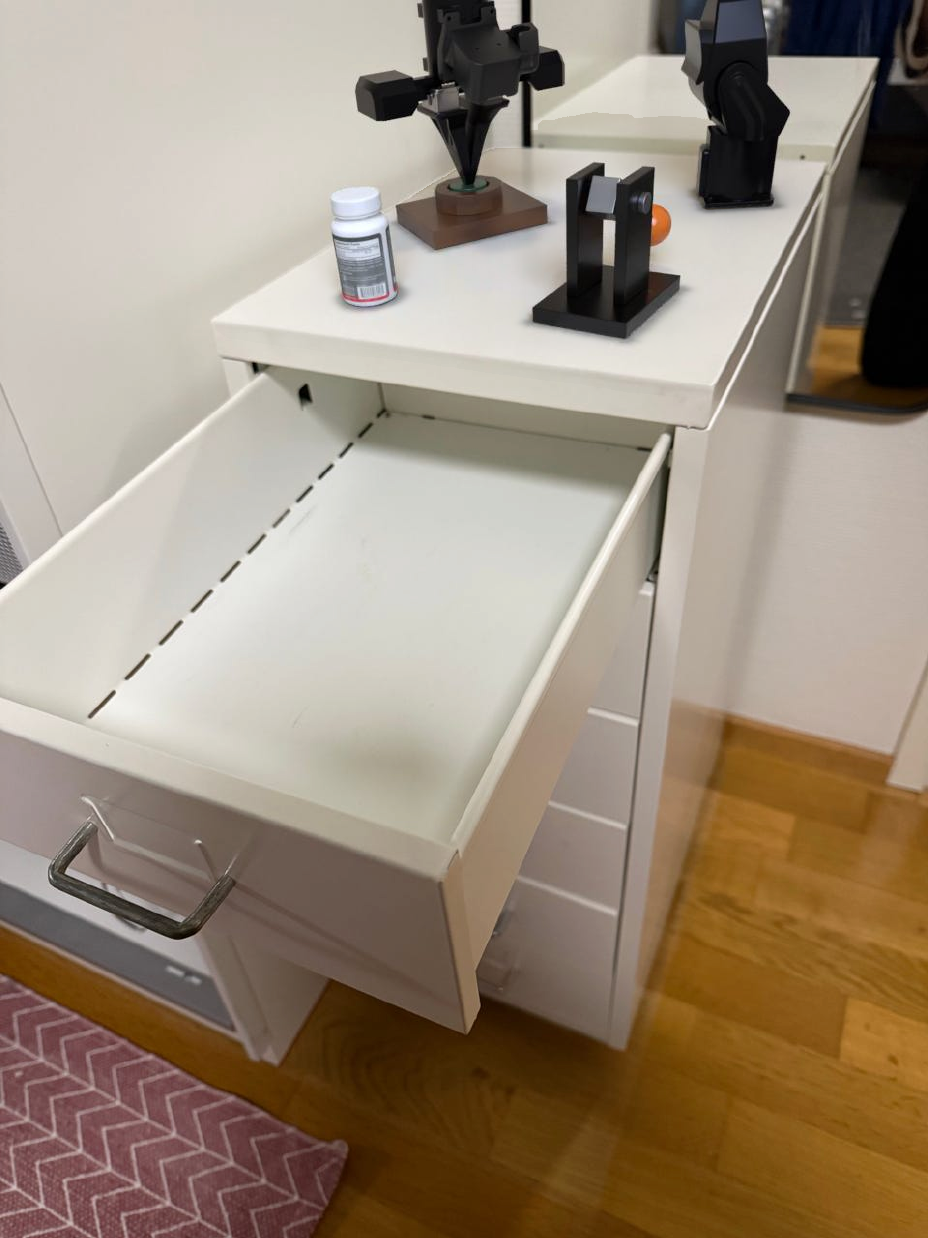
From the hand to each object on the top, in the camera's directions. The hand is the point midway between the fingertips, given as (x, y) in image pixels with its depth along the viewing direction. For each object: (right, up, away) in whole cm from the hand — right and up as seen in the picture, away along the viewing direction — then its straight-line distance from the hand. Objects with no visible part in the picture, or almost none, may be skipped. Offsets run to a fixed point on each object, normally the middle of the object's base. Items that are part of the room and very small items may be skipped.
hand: (468, 183), depth 85 cm
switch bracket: (+11, -17, -16) cm, 26 cm away
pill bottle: (-8, -15, -10) cm, 20 cm away
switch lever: (+12, -12, -16) cm, 24 cm away
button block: (0, -3, +2) cm, 4 cm away
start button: (0, -1, +1) cm, 2 cm away
